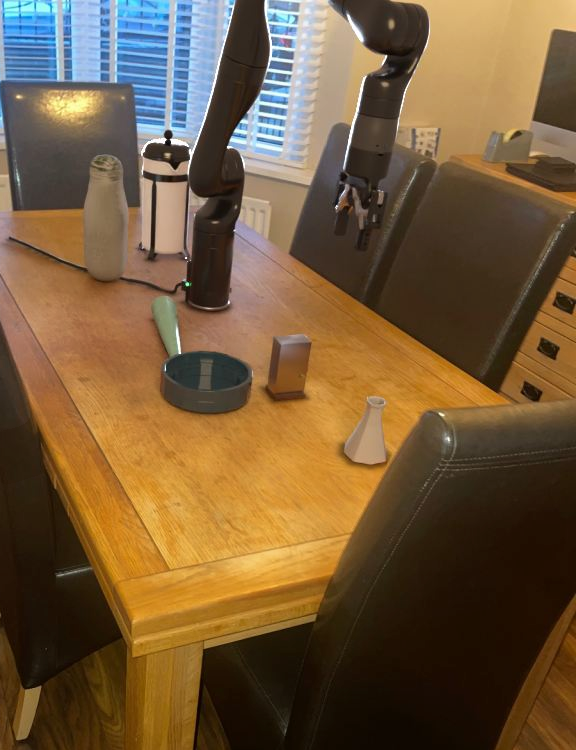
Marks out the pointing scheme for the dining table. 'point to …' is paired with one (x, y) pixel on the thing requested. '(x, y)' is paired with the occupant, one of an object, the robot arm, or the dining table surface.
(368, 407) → the flask
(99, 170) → the glass bottle
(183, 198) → the coffee press
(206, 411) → the bowl
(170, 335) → the mint green cone
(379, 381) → the dining table surface
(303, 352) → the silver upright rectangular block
